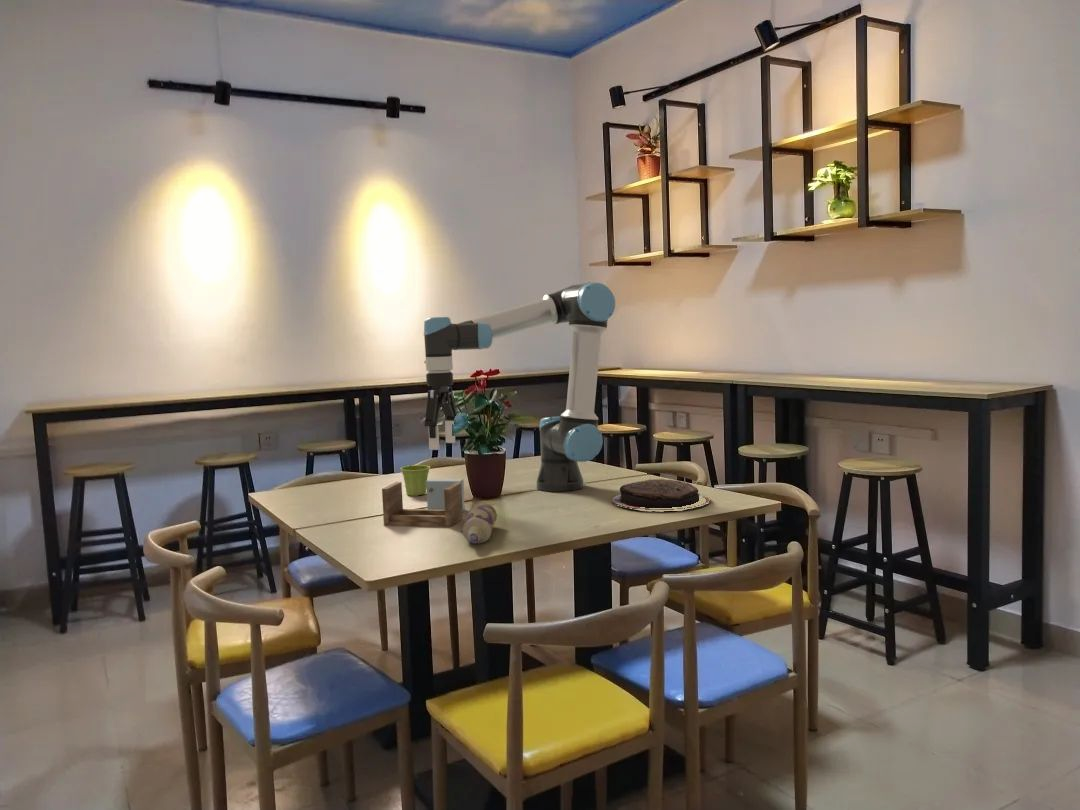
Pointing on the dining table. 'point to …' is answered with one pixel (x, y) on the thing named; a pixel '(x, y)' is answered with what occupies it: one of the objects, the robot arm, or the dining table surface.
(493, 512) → the decorative bottle
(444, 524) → the track
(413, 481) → the plant pot
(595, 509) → the dining table surface
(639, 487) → the chocolate cake
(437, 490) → the door panel
